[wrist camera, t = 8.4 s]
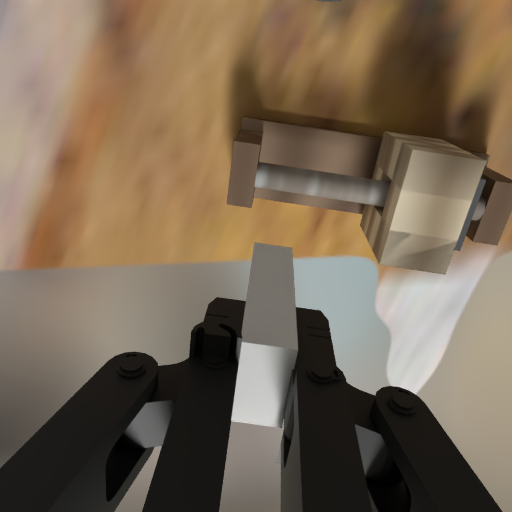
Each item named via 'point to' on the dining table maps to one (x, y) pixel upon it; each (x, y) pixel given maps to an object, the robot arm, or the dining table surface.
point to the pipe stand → (336, 173)
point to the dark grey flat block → (470, 213)
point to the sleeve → (420, 201)
